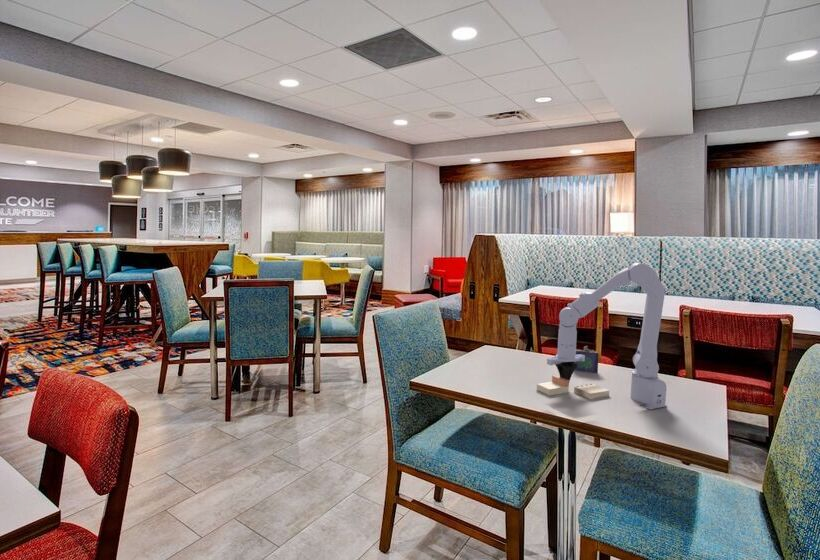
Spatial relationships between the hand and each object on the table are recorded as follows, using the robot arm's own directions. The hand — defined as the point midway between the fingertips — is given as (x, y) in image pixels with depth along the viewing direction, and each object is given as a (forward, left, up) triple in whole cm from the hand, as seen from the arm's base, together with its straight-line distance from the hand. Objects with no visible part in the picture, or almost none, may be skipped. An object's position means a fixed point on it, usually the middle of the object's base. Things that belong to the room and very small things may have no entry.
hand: (564, 384), depth 152 cm
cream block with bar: (0, +5, -2) cm, 6 cm away
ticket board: (-4, -1, -3) cm, 5 cm away
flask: (+13, -23, -3) cm, 27 cm away
